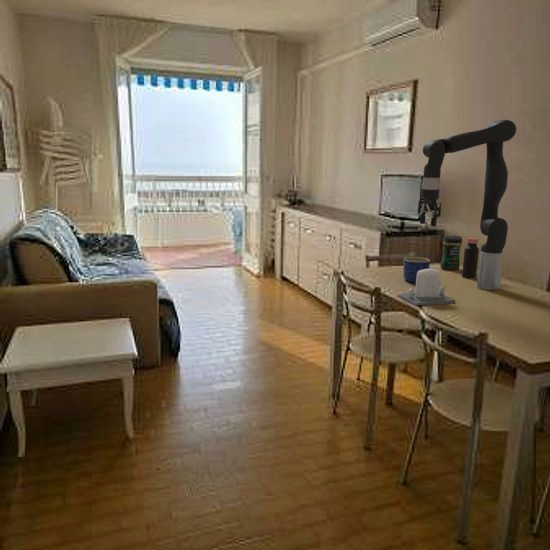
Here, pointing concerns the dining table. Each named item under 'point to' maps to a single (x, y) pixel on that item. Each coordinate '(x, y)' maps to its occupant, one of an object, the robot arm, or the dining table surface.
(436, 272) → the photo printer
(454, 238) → the coffee jar
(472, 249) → the bottle
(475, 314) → the dining table surface
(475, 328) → the dining table surface
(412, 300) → the docking tray
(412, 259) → the planter
